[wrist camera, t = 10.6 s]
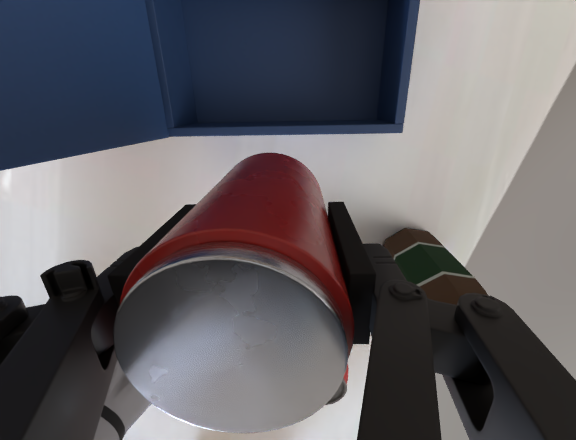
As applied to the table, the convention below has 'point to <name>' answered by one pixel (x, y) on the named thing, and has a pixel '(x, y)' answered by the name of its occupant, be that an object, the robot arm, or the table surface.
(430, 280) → the beer bottle
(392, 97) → the box
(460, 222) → the table surface
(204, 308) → the can
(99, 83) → the lid
